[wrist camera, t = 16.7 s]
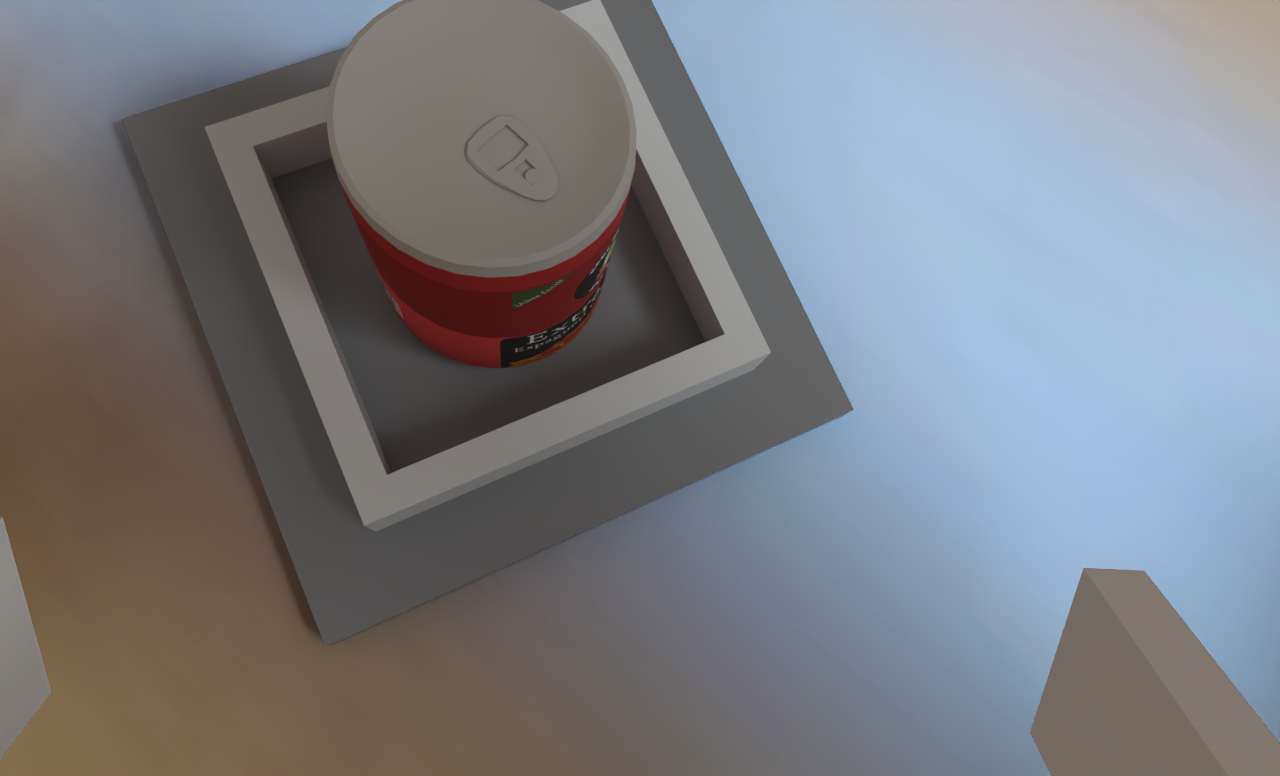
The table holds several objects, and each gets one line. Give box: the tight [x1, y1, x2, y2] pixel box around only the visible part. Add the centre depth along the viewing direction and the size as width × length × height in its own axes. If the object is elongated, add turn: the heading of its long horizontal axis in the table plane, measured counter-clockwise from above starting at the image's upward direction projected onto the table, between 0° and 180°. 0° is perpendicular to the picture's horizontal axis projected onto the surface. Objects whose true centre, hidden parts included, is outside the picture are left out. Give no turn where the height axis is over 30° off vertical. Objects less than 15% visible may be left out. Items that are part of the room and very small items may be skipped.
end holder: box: [122, 0, 853, 646], centre depth 34 cm, size 20×20×4 cm
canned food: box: [326, 0, 637, 368], centre depth 29 cm, size 8×8×11 cm
